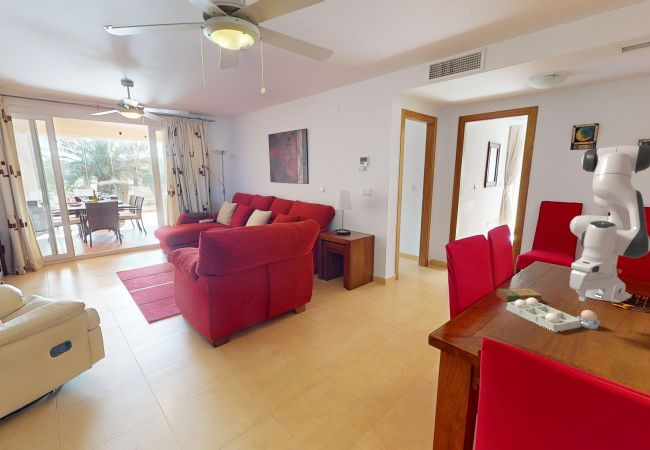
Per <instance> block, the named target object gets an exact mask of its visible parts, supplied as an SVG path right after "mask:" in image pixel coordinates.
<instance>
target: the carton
mask: <svg viewBox="0 0 650 450" xmlns="http://www.w3.org/2000/svg"><path fill="white" fill-rule="evenodd" d="M496 297H498V299H500V300H502V301H504V303H505V304H507V303H509V302H515V301H516V300H519V299H521V300H527V299H528V298H535V299H537V300H538V302H541V303H542V294H541V293H539V292H537V291H535V290H533V289H532V288H528V287H527V288H525V287H524V288H497V290H496Z"/></svg>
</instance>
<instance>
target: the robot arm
mask: <svg viewBox="0 0 650 450" xmlns="http://www.w3.org/2000/svg"><path fill="white" fill-rule="evenodd" d="M580 164H581V167H582V170H583V171H585V172H588V173H594V174H593V178H592V184H591V187H592V190H591V191H592V192H593V194H594V196H593V203H594V205H596V206H597V207H599V208H601V209H603V210H605V211H608V212H609V213H610V215H607V216H606V215H596V214H595V215H592V214H586V215H585V214H584V215H577V216H575V217H573V219H571V221H570V222H569V223H570V224H569V229H570V232H571V233H572V234H573V235H575V236H576V237H578V239H579V240H580V246H581V247H582V248H583V251H582V253H581V257H580V258H579V259H577V260H576V261H574V262H572V263H571V267H570V268H571V269H572V270H571V272H570V276H569V287H570V289H571V290H574V291H576V293H577V294H578V300H579V301H580V302H586V301H587V299H588V298H590V299H594V300H598V301H605V302H606V301H607V302H612V303H622V302H624V301H626V300H629V299H630V298H632V294H630V293H628V292H626V288H627V287H626V283H625V282H623V281H622V280H621V279H620V278H619V276H618V274H621V273H622V269H621V268H617V265H618V259H619V256H620V257H621V256H622V257H626V258H630V259H639V258H641V257H644V256H646V255H648V254H649V252H650V236H649V234H648V228H647V221H646V220H647V219H646V211H645V204H644V199H643V195H642V193H641V191H639V190H637V189H635V188H634V186H633V185H632V177H633V172H634V174H637V173H639V172H643V171H645V170H647V169H649V168H650V145H644V144H639V145H615V146H608V147H607V146H606V147H599V148H597V147H594V148H590V149H587V150H586V151H585V152H584V154H583V155H582V157H581V159H580Z"/></svg>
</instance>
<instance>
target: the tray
mask: <svg viewBox="0 0 650 450" xmlns="http://www.w3.org/2000/svg"><path fill="white" fill-rule="evenodd" d="M524 301H525V302H526V300H524ZM514 303H515V302H509V303H506V308H505V310H506V311H509V312H511V313H512V314H515V315H517V316H519V317H521V318H523V319H525V320H527V321H529V322H531V321H532V322H531V323H533V322H534V324H535V323H536V325H537V324H538V325H537V326H540V327H542V326H543V327H542V328H544V327H545V328H544V329H546V328H547V329H546V330H548V329H549V330H548V331H550V330H552V331H554V332H555V333H559V332H558V331H560V332H564V330H565V331H567V330H569V331H570V330H574V329H579V328H581V327H582V326H581V319H578V318H577V316H573V315H571V314H568V313H567V312H564V311H561V310H559V309H557V308H554V307H551V306H549V305H546V304H543V303H542V302H541V303H539V305H538V306H537V307H533V306H530V305H528V304H527V308H525V309H521V308H518V307H516V306H515V305H514ZM548 313H554V314H556V315H558V316H559V318H560V323H558V324H553V323H551V322H549V321H547V320H545V316H546V315H547V314H548ZM552 331H551V332H552ZM554 332H553V333H554Z"/></svg>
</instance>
